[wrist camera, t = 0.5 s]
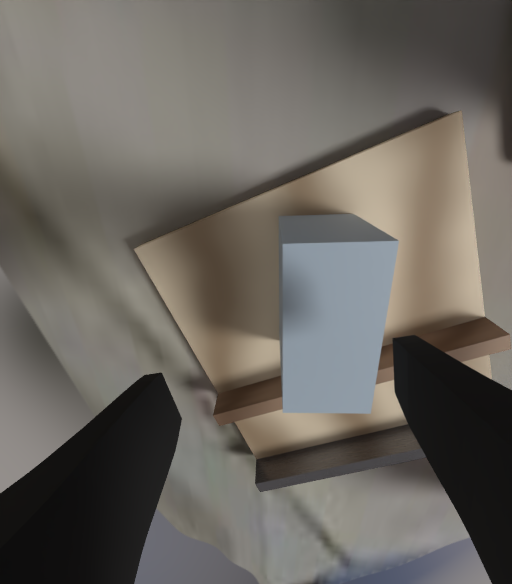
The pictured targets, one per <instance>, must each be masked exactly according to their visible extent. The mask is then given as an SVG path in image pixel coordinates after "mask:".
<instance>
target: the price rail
mask: <svg viewBox="0 0 512 584" xmlns="http://www.w3.org/2000/svg"><path fill="white" fill-rule="evenodd" d="M422 458H426V456H425V454H424V452H423V450H422V449H421V447H420V445H419V443H418V441H417V440H416V438H415V436H414V434H413V432H412V431H411V429H410V427H409V425H408V424H406V425H402V426H398V427H394V428H389V429H385V430H381V431H376V432H372V433H368V434H363V435H359V436H355V437H350V438H346V439H342V440H338V441H333V442H329V443H325V444H320V445H316V446H312V447H307V448H303V449H299V450H294V451H290V452H286V453H281V454H277V455H273V456H269V457H264V458H260V459H256V479H255V484H256V486H257V488H258V489H259V491H260V492H263V491H268V490H272V489H277V488H282V487H287V486H292V485H296V484H301V483H306V482H311V481H316V480H320V479H325V478H330V477H335V476H340V475H345V474H349V473H354V472H359V471H364V470H369V469H373V468H378V467H383V466H388V465H393V464H398V463H402V462H407V461H412V460H417V459H422Z"/></svg>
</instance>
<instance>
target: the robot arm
mask: <svg viewBox="0 0 512 584" xmlns="http://www.w3.org/2000/svg"><path fill="white" fill-rule="evenodd" d="M392 341H393V365H394V390H395V394H396V397H397V399H398V402H399V404H400V407H401V409H402V411H403V414H404V416H405V418H406V421H407V423H408V425H409V427H410V429H411V431H412V432H413V434H414V436H415V438H416V440H417V441H418V443H419V445H420V447H421V449H422V450H423V452H424V454H425V456H426V457H427V459H428V461H429V463H430V465H431V466H432V468H433V470H434V472H435V473H436V475H437V477H438V479H439V480H440V482H441V484H442V486H443V487H444V489H445V491H446V493H447V495H448V496H449V498H450V500H451V502H452V503H453V505H454V507H455V509H456V510H457V512H458V514H459V516H460V518H461V520H462V522H463V524H464V526H465V528H466V529H467V531H468V533H469V535H470V537H471V540H472V542H473V544H474V546H475V548H476V550H477V552H478V554H479V557H480V559H481V561H482V563H483V565H484V567H485V570H486V572H487V574H488V576H489V578H490V580H491V582H492V584H512V390H510V389H508V388H506V387H504V386H503V385H501V384H499V383H497V382H495V381H493V380H492V379H490V378H488V377H486V376H484V375H483V374H481V373H479V372H477V371H476V370H474V369H472V368H470V367H469V366H467V365H465V364H463V363H462V362H460V361H458V360H457V359H455V358H453V357H451V356H450V355H448V354H446V353H445V352H443V351H441V350H440V349H438V348H436V347H435V346H433V345H431V344H430V343H428V342H426V341H425V340H423V339H421V338H419V337H418V336H416V335H410V336H403V337H397V338H392ZM181 420H182V418H181V416H180V413H179V411H178V409H177V406H176V404H175V402H174V400H173V397H172V395H171V393H170V391H169V388H168V386H167V384H166V381H165V379H164V377H163V375H162V373H155V374H149V375H144V376H143V377H141V378H140V379H139V380H137V381H136V382H135V383H134V384H133V385H131V386H130V387H129V388H128V389H127V390H125V391H124V392H123V393H122V394H121V395H120V396H119V397H118V398H116V399H115V400H114V401H113V402H112V403H111V404H110V405H108V406H107V407H106V408H105V409H104V410H103V411H102V412H101V413H99V414H98V415H97V416H96V417H95V418H94V419H93V420H91V421H90V422H89V423H88V424H87V425H86V426H85V427H84V428H83V429H81V430H80V431H79V432H78V433H76V434H75V435H74V436H73V437H72V438H70V439H69V440H68V441H67V442H66V443H64V444H63V445H62V446H61V447H60V448H58V449H57V450H56V451H55V452H54V453H52V454H51V455H50V456H49V457H48V458H46V459H45V460H44V461H43V462H41V463H40V464H39V465H38V466H36V467H35V468H34V469H33V470H31V471H30V472H29V473H27V474H26V475H25V476H24V477H22V478H21V479H19V480H18V481H17V482H15V483H14V484H13V485H11V486H10V487H9V488H7V489H6V490H5V491H3V492H2V493H0V584H134V582H135V578H136V574H137V570H138V566H139V561H140V558H141V554H142V550H143V547H144V543H145V540H146V537H147V534H148V531H149V528H150V525H151V522H152V519H153V516H154V513H155V510H156V507H157V504H158V501H159V498H160V495H161V492H162V489H163V486H164V484H165V481H166V478H167V475H168V472H169V469H170V466H171V462H172V459H173V456H174V453H175V450H176V445H177V441H178V436H179V431H180V425H181Z"/></svg>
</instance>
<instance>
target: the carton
mask: <svg viewBox="0 0 512 584" xmlns="http://www.w3.org/2000/svg"><path fill="white" fill-rule="evenodd" d="M398 244H399V241H398V240H397V239H395V238H393V237H392V236H390V235H388V234H387V233H385V232H383V231H382V230H380V229H378V228H377V227H375V226H373V225H372V224H370V223H368V222H367V221H365V220H363V219H362V218H360V217H358V216H357V215H355V214H329V215H297V216H279V342H280V364H281V385H282V407H283V413H358V414H371V409H372V403H373V397H374V390H375V384H376V378H377V372H378V366H379V360H380V354H381V348H382V342H383V336H384V329H385V323H386V317H387V311H388V305H389V299H390V293H391V287H392V281H393V275H394V269H395V262H396V256H397V250H398Z"/></svg>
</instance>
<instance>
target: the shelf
mask: <svg viewBox="0 0 512 584" xmlns="http://www.w3.org/2000/svg"><path fill="white" fill-rule="evenodd" d="M329 214H355V215H357V216H358V217H360V218H362V219H363V220H365V221H367V222H368V223H370V224H372V225H373V226H375V227H377V228H378V229H380V230H382V231H383V232H385V233H387V234H388V235H390V236H392V237H393V238H395V239H397V240H398V241H399V244H398V250H397V256H396V262H395V269H394V275H393V281H392V287H391V293H390V299H389V305H388V311H387V317H386V323H385V329H384V336H383V342H382V348H381V354H380V360H379V366H378V372H377V378H376V384H375V390H374V397H373V403H372V409H371V414H358V413H283V407H282V385H281V364H280V342H279V216H297V215H329ZM134 250H135V252H136V254H137V255H138V257H139V259H140V261H141V262H142V264H143V266H144V267H145V269H146V271H147V273H148V274H149V276H150V278H151V279H152V281H153V283H154V285H155V286H156V288H157V290H158V291H159V293H160V295H161V297H162V298H163V300H164V302H165V303H166V305H167V307H168V309H169V310H170V312H171V314H172V315H173V317H174V319H175V321H176V322H177V324H178V326H179V327H180V329H181V331H182V333H183V334H184V336H185V338H186V339H187V341H188V343H189V345H190V346H191V348H192V350H193V351H194V353H195V355H196V357H197V358H198V360H199V362H200V363H201V365H202V367H203V369H204V370H205V372H206V374H207V375H208V377H209V379H210V381H211V382H212V384H213V386H214V387H215V389H216V391H217V393H218V396H217V401H216V405H215V409H214V414H213V416H214V418H215V419H216V421H217V423H218V424H219V426H221V425H225V424H229V423H232V422H235V423H236V425H237V427H238V429H239V430H240V432H241V434H242V435H243V437H244V439H245V441H246V442H247V444H248V446H249V447H250V449H251V451H252V453H253V454H254V456H255V458H256V459H260V458H264V457H269V456H273V455H277V454H281V453H286V452H290V451H294V450H299V449H303V448H307V447H312V446H316V445H320V444H325V443H329V442H333V441H338V440H342V439H346V438H350V437H355V436H359V435H363V434H368V433H372V432H376V431H381V430H385V429H389V428H394V427H398V426H402V425H406V424H408V423H407V421H406V418H405V416H404V414H403V411H402V409H401V407H400V404H399V402H398V399H397V397H396V394H395V390H394V365H393V341H392V338H397V337H403V336H410V335H416V336H418V337H419V338H421V339H423V340H425V341H426V342H428V343H430V344H431V345H433V346H435V347H436V348H438V349H440V350H441V351H443V352H445V353H446V354H448V355H450V356H451V357H453V358H455V359H457V360H458V361H460V362H462V363H463V364H465V365H467V366H469V367H470V368H472V369H474V370H476V371H477V372H479V373H481V374H483V375H484V376H486V377H488V378H490V379H492V375H491V366H490V357H489V355H490V354H494V353H498V352H502V351H505V350H509V349H511V342H510V334H508V333H507V332H506V331H504V330H503V329H501V328H500V327H499V326H497V325H496V324H494V323H493V322H491V321H490V320H489V319H487V318H486V317H485V313H484V304H483V295H482V286H481V277H480V269H479V260H478V251H477V242H476V233H475V224H474V215H473V206H472V198H471V189H470V180H469V171H468V162H467V153H466V144H465V135H464V127H463V118H462V110H461V111H458V112H454V113H451V114H448V115H446V116H443V117H441V118H438V119H436V120H434V121H431V122H429V123H427V124H424V125H422V126H420V127H417V128H415V129H413V130H410V131H408V132H405V133H403V134H401V135H398V136H396V137H394V138H391V139H389V140H387V141H384V142H382V143H380V144H377V145H375V146H372V147H370V148H368V149H365V150H363V151H361V152H358V153H356V154H354V155H351V156H349V157H347V158H344V159H342V160H339V161H337V162H335V163H332V164H330V165H328V166H325V167H323V168H321V169H318V170H316V171H314V172H311V173H309V174H306V175H304V176H302V177H299V178H297V179H295V180H292V181H290V182H288V183H285V184H283V185H281V186H278V187H276V188H273V189H271V190H269V191H266V192H264V193H262V194H259V195H257V196H255V197H252V198H250V199H248V200H245V201H243V202H240V203H238V204H236V205H233V206H231V207H229V208H226V209H224V210H222V211H219V212H217V213H215V214H212V215H210V216H207V217H205V218H203V219H200V220H198V221H196V222H193V223H191V224H189V225H186V226H184V227H182V228H179V229H177V230H174V231H172V232H170V233H167V234H165V235H163V236H160V237H158V238H156V239H153V240H151V241H148V242H146V243H144V244H141V245H140V246H138V247H136V248H135V249H134Z"/></svg>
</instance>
